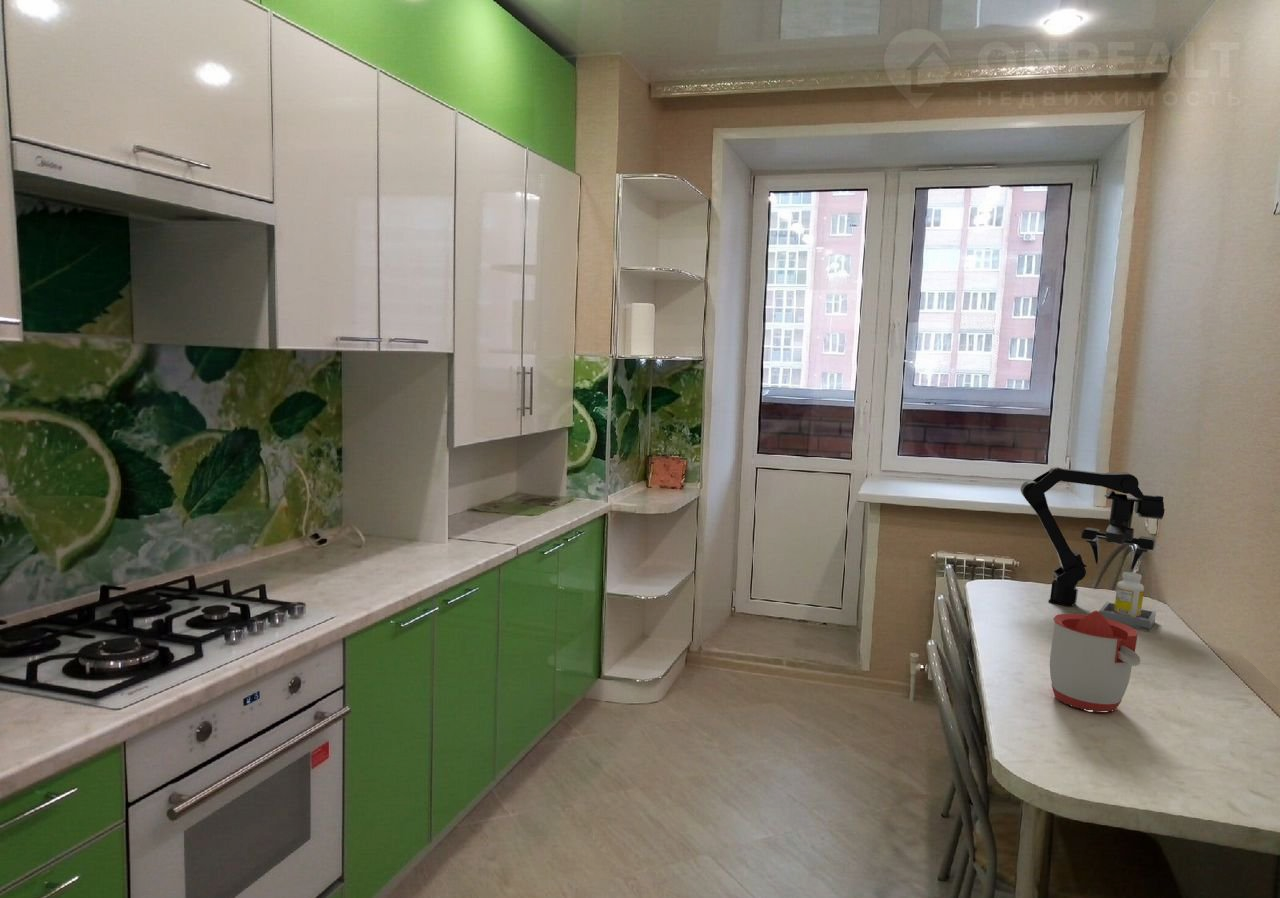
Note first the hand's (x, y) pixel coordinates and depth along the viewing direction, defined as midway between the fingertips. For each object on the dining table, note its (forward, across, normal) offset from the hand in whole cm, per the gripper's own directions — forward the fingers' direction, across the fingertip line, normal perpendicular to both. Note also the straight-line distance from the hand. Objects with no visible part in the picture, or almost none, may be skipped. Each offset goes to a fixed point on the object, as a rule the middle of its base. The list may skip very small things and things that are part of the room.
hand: (1114, 566), depth 254 cm
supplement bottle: (+12, +6, -10) cm, 17 cm away
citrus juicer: (+13, +9, -88) cm, 89 cm away
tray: (+13, +6, -10) cm, 17 cm away
